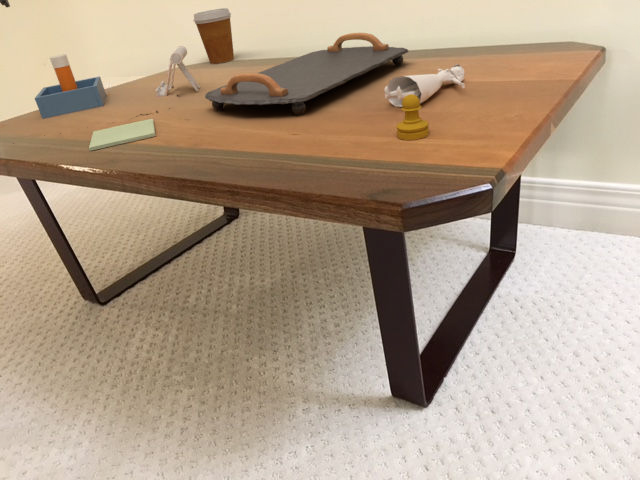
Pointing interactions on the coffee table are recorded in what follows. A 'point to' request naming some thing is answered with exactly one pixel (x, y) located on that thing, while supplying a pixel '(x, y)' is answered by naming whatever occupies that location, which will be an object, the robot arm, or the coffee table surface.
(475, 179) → the coffee table surface
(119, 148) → the coffee table surface
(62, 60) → the glue stick
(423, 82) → the woman figurine
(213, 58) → the disposable coffee cup
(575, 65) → the coffee table surface
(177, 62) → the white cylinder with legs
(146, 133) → the mat
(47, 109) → the box
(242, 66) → the coffee table surface
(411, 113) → the chess piece
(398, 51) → the serving tray
